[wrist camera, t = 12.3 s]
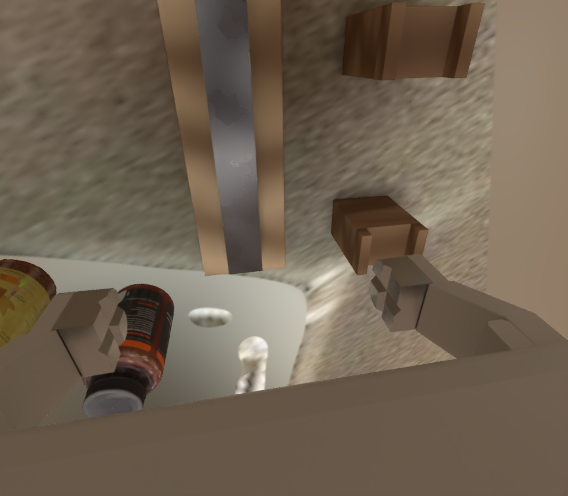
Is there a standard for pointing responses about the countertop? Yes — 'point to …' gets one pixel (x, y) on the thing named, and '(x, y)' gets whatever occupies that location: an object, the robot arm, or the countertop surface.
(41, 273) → the sauce bottle
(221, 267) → the wooden plank
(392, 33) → the post
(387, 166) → the countertop surface
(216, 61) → the rail
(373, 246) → the post
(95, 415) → the supplement bottle
